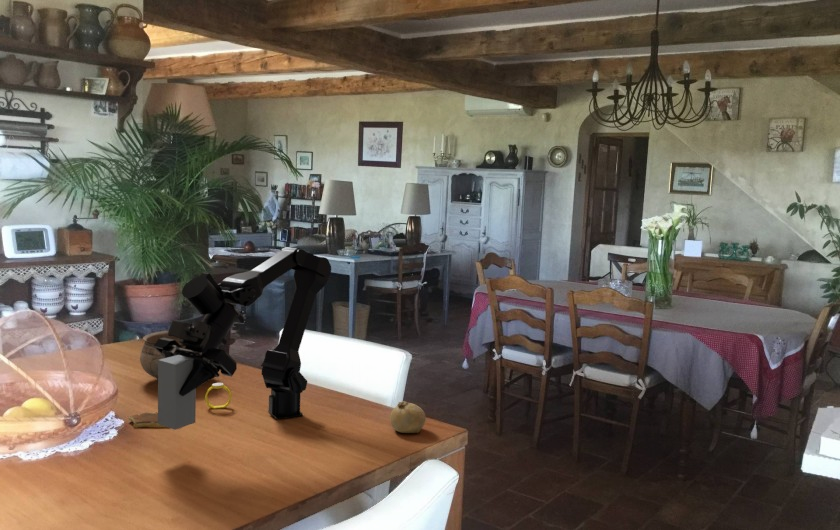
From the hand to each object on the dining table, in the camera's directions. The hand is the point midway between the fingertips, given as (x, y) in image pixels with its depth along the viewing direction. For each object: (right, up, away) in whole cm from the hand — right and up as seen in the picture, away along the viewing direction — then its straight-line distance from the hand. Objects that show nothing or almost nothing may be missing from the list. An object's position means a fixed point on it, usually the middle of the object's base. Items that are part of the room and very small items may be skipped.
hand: (171, 392), depth 138 cm
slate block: (0, -6, +2) cm, 7 cm away
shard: (-11, -11, +22) cm, 27 cm away
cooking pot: (-17, -7, +54) cm, 57 cm away
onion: (+46, -13, +22) cm, 52 cm away
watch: (0, -10, +33) cm, 34 cm away
